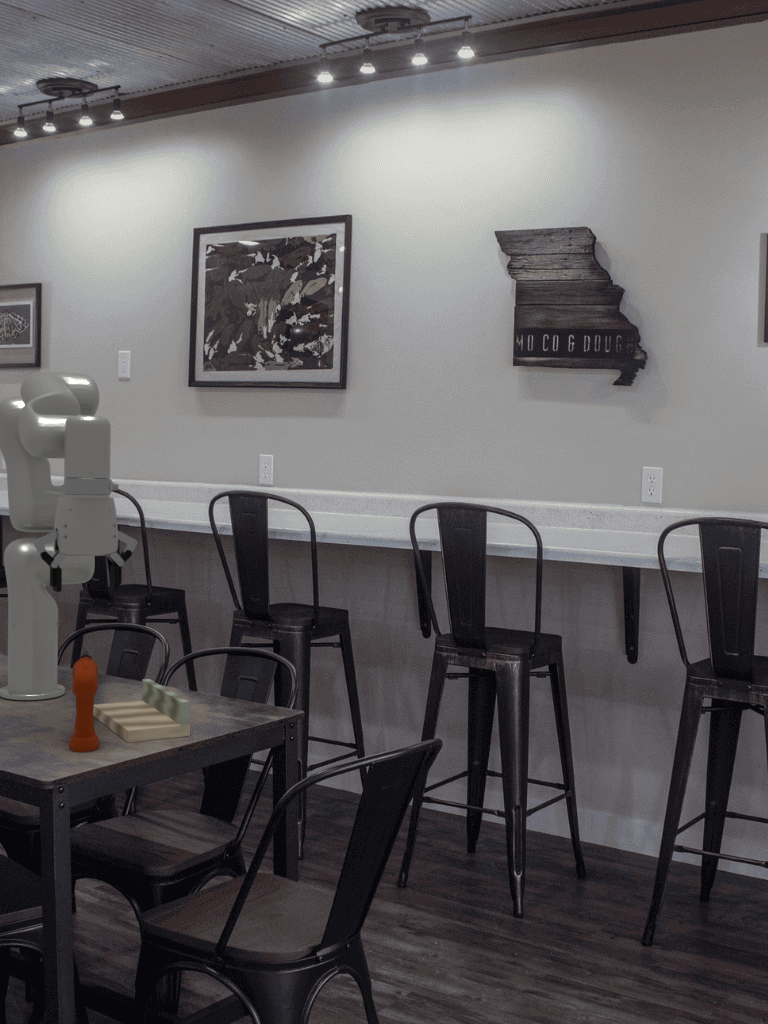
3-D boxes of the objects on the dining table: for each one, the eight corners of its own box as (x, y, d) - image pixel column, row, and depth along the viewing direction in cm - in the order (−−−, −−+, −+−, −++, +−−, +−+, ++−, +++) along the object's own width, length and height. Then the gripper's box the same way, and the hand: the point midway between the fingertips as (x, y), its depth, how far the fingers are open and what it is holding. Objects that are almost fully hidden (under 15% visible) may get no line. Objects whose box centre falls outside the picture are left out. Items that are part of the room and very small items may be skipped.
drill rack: (92, 715, 204) (93, 683, 204) (149, 709, 210) (150, 678, 209) (127, 742, 185) (128, 707, 185) (190, 735, 191) (190, 701, 190)
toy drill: (98, 716, 197) (100, 635, 195) (99, 756, 179) (100, 668, 177) (70, 717, 196) (71, 636, 193) (68, 758, 178) (69, 669, 175)
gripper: (130, 489, 192) (129, 586, 193) (29, 488, 184) (28, 589, 184) (143, 490, 186) (142, 590, 187) (39, 489, 177) (38, 594, 178)
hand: (85, 590), depth 186 cm, fingers open, 9 cm apart
